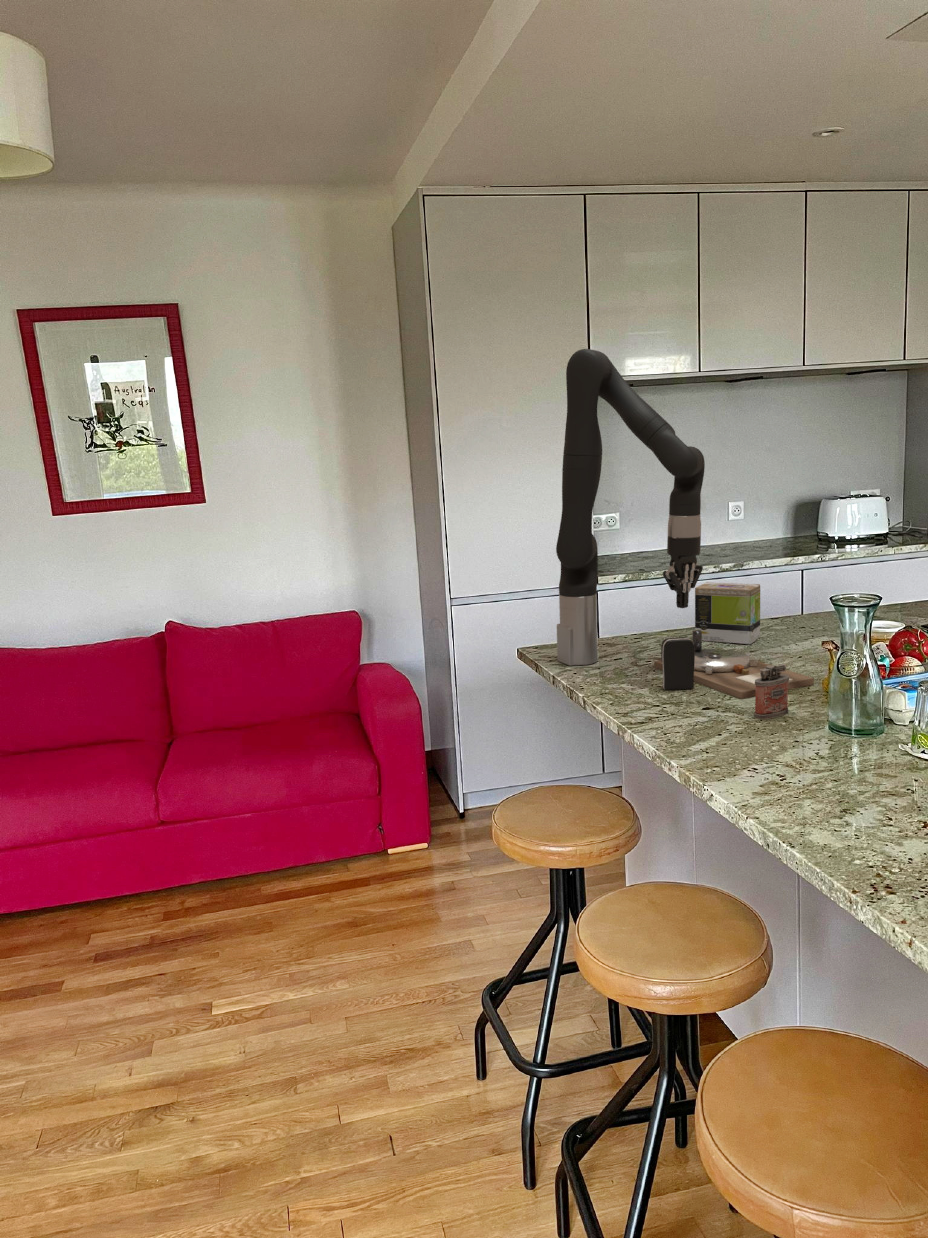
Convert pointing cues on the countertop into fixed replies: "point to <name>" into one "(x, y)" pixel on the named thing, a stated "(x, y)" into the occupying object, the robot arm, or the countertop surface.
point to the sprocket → (719, 658)
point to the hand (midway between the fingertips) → (682, 607)
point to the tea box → (728, 612)
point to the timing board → (742, 680)
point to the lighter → (771, 693)
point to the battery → (678, 663)
